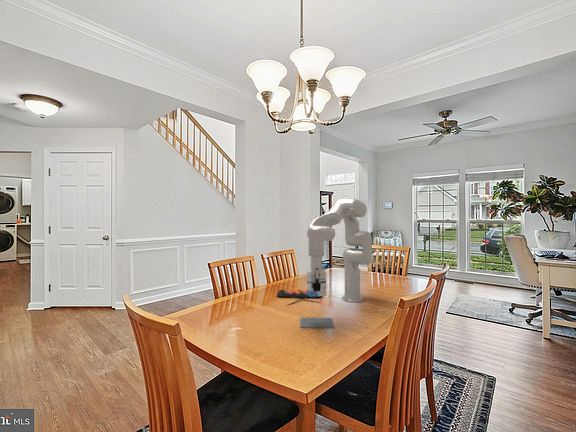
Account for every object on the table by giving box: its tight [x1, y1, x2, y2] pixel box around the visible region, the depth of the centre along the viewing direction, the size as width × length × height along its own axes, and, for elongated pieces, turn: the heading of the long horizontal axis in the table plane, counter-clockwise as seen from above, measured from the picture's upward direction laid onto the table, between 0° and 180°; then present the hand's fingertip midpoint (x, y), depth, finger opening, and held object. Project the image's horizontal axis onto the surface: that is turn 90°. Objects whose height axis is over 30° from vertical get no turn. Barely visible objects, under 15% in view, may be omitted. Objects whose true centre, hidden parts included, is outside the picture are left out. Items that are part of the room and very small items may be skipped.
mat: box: [299, 317, 335, 329], centre depth 150 cm, size 12×16×1 cm
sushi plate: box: [276, 288, 323, 307], centre depth 191 cm, size 29×30×4 cm
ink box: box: [306, 269, 327, 298], centre depth 150 cm, size 8×5×12 cm, turn 105°
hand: (316, 288), depth 150 cm, fingers closed on ink box, 6 cm apart
